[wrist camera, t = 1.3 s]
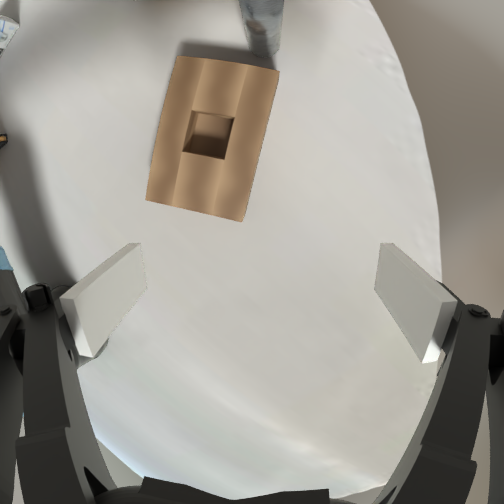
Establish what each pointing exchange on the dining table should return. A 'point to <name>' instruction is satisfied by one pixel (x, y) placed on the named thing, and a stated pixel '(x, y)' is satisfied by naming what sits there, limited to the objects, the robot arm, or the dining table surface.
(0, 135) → the ammunition clip
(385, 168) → the dining table surface
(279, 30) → the pin
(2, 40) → the light bulb box
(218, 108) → the bore block
